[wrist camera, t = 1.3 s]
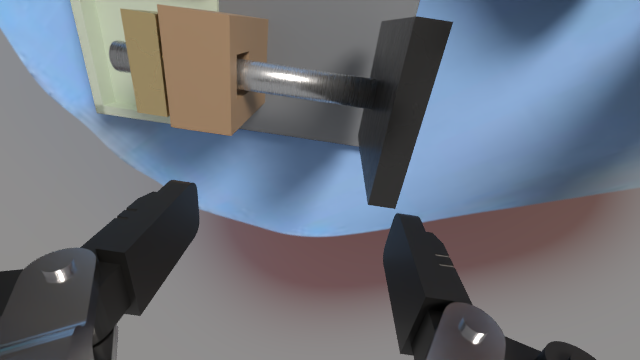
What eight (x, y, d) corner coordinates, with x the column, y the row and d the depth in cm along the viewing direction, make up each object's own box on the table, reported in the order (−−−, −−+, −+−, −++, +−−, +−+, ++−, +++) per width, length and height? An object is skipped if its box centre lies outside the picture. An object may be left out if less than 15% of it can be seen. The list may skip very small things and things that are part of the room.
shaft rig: (417, 0, 24) (466, -18, 14) (380, 146, 30) (398, 200, 21) (85, -51, 24) (-83, -102, 14) (117, 106, 30) (14, 143, 20)
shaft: (401, 24, 21) (452, 22, 11) (374, 139, 25) (395, 208, 16) (144, -15, 21) (-23, -51, 11) (160, 107, 25) (48, 157, 16)
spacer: (200, 17, 22) (155, 13, 16) (205, 97, 24) (167, 117, 19) (174, 13, 22) (119, 8, 16) (181, 94, 24) (137, 112, 19)
